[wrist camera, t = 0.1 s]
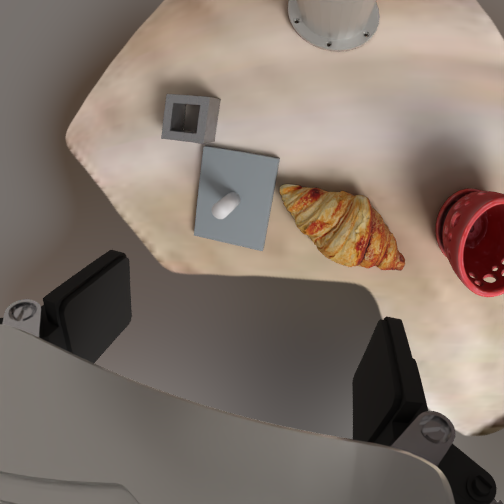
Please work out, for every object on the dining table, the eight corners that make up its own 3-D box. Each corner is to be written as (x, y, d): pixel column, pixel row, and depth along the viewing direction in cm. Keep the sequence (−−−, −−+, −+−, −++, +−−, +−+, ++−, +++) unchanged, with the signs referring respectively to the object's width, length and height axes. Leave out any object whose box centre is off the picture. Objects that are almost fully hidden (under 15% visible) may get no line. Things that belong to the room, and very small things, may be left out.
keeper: (206, 145, 46) (185, 150, 39) (279, 158, 44) (271, 164, 38) (196, 233, 52) (177, 250, 45) (263, 248, 50) (253, 269, 43)
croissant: (276, 197, 50) (255, 230, 46) (300, 149, 42) (280, 181, 38) (388, 264, 50) (380, 303, 45) (426, 229, 42) (423, 270, 37)
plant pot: (490, 263, 42) (523, 299, 32) (423, 258, 45) (446, 296, 34) (506, 185, 37) (547, 206, 27) (435, 173, 40) (467, 191, 29)
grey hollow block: (180, 95, 44) (166, 94, 40) (220, 99, 43) (210, 97, 39) (175, 136, 46) (161, 138, 42) (214, 141, 45) (203, 143, 41)
